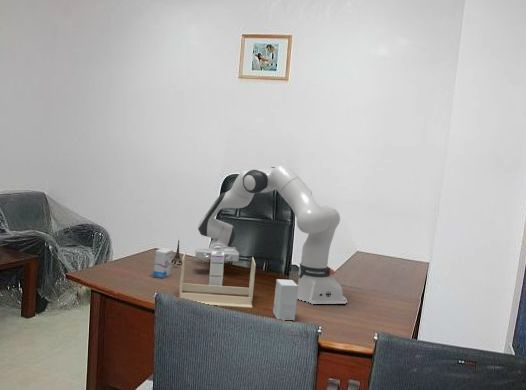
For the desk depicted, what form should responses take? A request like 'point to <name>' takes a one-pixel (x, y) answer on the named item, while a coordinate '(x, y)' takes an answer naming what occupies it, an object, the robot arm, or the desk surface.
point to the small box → (285, 299)
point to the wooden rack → (218, 291)
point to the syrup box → (216, 268)
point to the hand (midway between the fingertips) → (217, 258)
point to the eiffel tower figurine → (177, 257)
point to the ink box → (162, 263)
